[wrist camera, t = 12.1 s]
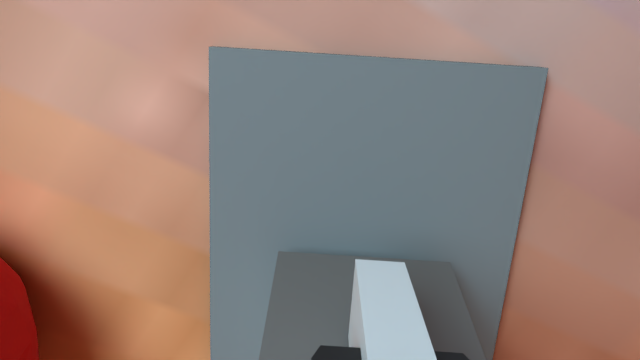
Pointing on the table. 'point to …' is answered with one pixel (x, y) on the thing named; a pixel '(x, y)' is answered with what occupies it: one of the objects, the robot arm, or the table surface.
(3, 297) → the tomato
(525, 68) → the rubber mat
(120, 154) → the table surface
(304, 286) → the cream block
